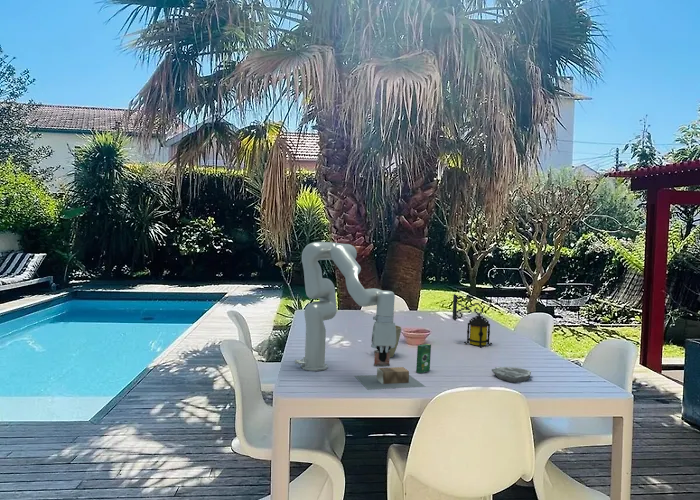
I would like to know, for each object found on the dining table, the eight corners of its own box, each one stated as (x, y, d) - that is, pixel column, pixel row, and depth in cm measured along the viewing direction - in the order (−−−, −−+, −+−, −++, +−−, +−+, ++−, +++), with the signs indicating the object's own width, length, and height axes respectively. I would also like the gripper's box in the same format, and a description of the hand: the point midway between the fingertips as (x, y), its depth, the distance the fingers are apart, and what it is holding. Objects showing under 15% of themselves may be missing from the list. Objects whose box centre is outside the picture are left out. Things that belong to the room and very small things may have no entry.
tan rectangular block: (382, 372, 220) (409, 371, 224) (377, 368, 227) (403, 367, 230) (381, 383, 220) (408, 382, 224) (376, 379, 227) (402, 378, 231)
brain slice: (501, 370, 255) (501, 364, 255) (535, 377, 244) (536, 371, 244) (484, 378, 240) (484, 371, 240) (520, 386, 229) (520, 379, 229)
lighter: (375, 366, 252) (375, 346, 252) (372, 364, 255) (373, 344, 255) (390, 366, 254) (391, 346, 254) (388, 364, 258) (389, 344, 257)
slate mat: (367, 391, 212) (367, 389, 212) (353, 377, 231) (353, 376, 231) (425, 388, 219) (425, 386, 219) (407, 375, 238) (407, 373, 238)
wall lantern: (495, 348, 304) (497, 298, 303) (454, 347, 304) (457, 296, 303) (488, 342, 320) (490, 294, 319) (449, 341, 321) (452, 293, 320)
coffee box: (425, 369, 250) (426, 342, 249) (430, 371, 248) (431, 344, 247) (415, 372, 244) (416, 345, 243) (420, 373, 242) (421, 346, 241)
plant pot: (398, 360, 266) (400, 330, 265) (370, 358, 269) (371, 327, 268) (401, 354, 280) (402, 325, 280) (374, 351, 283) (375, 323, 283)
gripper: (371, 320, 218) (368, 363, 218) (403, 320, 222) (401, 362, 223) (365, 317, 225) (363, 359, 226) (397, 317, 229) (395, 358, 230)
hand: (382, 360), depth 224 cm, fingers closed
